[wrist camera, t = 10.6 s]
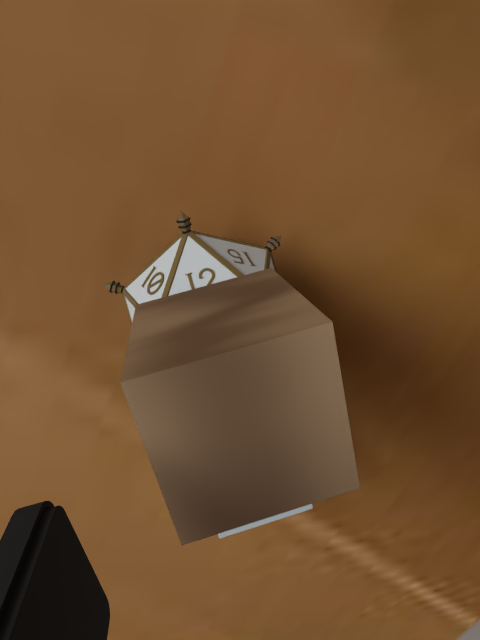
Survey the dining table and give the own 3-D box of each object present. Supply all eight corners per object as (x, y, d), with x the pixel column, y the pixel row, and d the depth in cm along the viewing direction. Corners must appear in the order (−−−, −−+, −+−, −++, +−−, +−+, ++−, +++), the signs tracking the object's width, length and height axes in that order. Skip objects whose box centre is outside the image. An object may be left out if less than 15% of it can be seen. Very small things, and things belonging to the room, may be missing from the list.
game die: (216, 299, 28) (264, 448, 23) (80, 282, 23) (100, 466, 18) (297, 192, 22) (386, 358, 17) (138, 138, 17) (193, 347, 12)
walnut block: (271, 267, 16) (332, 321, 10) (296, 385, 17) (360, 488, 12) (135, 304, 15) (120, 383, 10) (175, 421, 17) (181, 545, 11)
